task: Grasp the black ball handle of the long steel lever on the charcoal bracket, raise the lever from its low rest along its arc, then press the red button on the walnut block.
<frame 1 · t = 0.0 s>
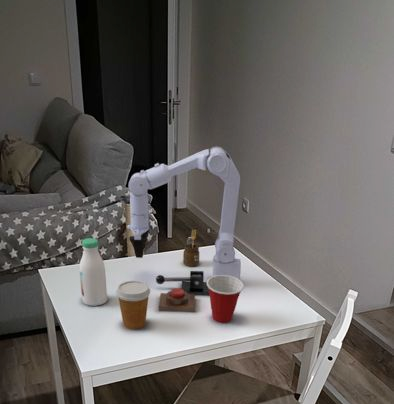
hand: (140, 252, 164), 10 cm above the table, tool pointing down, fingers open, 7 cm apart
disposable coffee cup: (134, 325, 143), on the table
utensil holder: (191, 264, 183), on the table
lever: (178, 279, 162), point 4 cm above the table, hinge at -3.0°
button: (177, 293, 153), point 4 cm above the table, slide at 0.1 cm
bracket: (196, 290, 164), on the table
button block: (177, 304, 155), on the table
plastic cup: (222, 319, 148), on the table
milk bottle: (95, 301, 155), on the table
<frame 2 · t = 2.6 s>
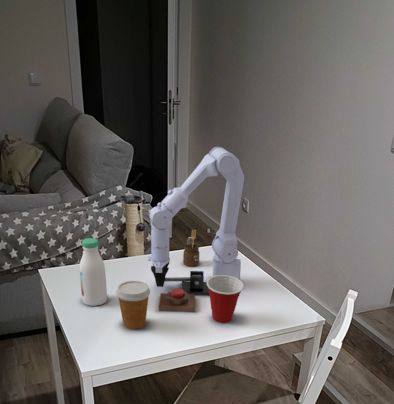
hand: (160, 284, 163), 2 cm above the table, tool pointing down, fingers closed on lever, 3 cm apart
lever: (178, 279, 162), point 4 cm above the table, hinge at -3.0°, touching gripper
everything else where it was.
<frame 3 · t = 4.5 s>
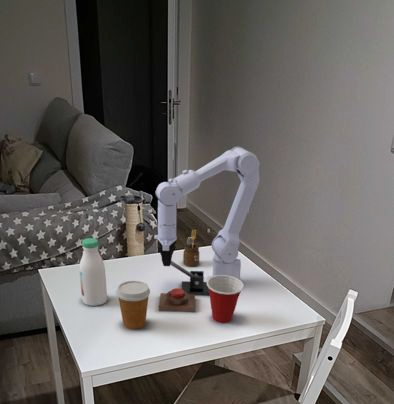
hand: (167, 263, 159), 9 cm above the table, tool pointing down, fingers closed on lever, 3 cm apart
lever: (181, 269, 160), point 7 cm above the table, hinge at 32.9°, touching gripper
everything else where it was.
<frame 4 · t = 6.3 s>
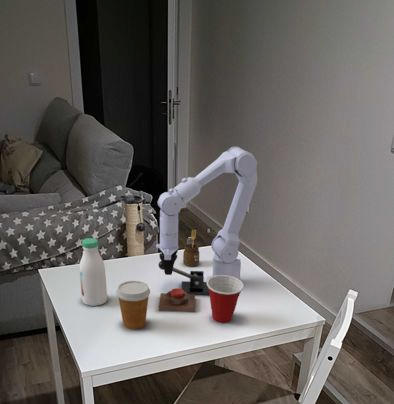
hand: (168, 272, 161), 6 cm above the table, tool pointing down, fingers closed on lever, 3 cm apart
lever: (179, 272, 161), point 6 cm above the table, hinge at 22.4°, touching gripper
everything else where it was.
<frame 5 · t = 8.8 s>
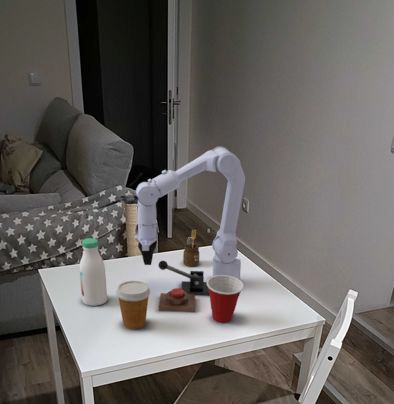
hand: (147, 263, 159), 9 cm above the table, tool pointing down, fingers closed
lever: (179, 272, 161), point 6 cm above the table, hinge at 22.2°
everything else where it was.
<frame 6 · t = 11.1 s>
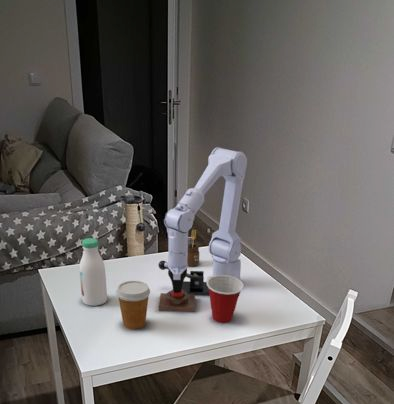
hand: (177, 291, 152), 5 cm above the table, tool pointing down, fingers closed, pressing on button
button: (177, 293, 153), point 4 cm above the table, slide at 0.0 cm, touching gripper
everything else where it was.
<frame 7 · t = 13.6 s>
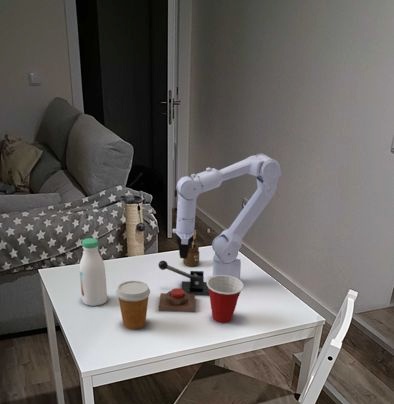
hand: (183, 257, 161), 10 cm above the table, tool pointing down, fingers closed
button: (177, 293, 153), point 4 cm above the table, slide at 0.1 cm
everything else where it was.
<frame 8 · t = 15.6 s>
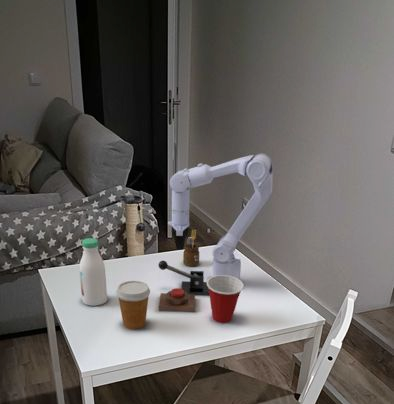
hand: (179, 248, 167), 10 cm above the table, tool pointing down, fingers closed
nothing on the table moved.
at the end: lever reached +38° during the clip, +22° at the end; lever at +22° (first picture: -3°); button pushed in 1.2 cm at the most during the clip, back to where it started at the end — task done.
